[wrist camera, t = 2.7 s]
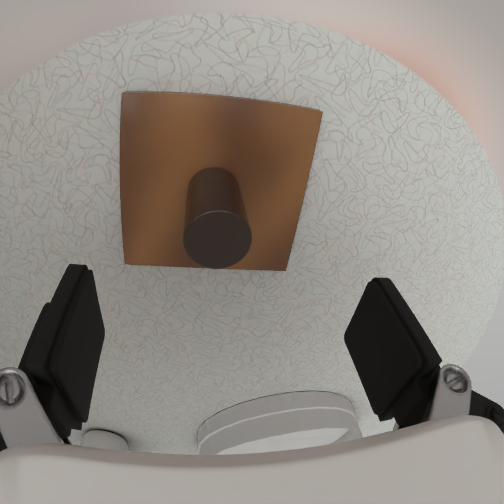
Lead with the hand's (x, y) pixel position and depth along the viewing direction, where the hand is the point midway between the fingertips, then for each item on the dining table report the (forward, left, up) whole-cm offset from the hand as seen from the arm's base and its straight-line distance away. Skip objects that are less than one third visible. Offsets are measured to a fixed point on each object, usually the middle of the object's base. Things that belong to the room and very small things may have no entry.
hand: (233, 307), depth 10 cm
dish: (+11, -34, -11) cm, 37 cm away
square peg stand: (0, 0, -10) cm, 10 cm away
